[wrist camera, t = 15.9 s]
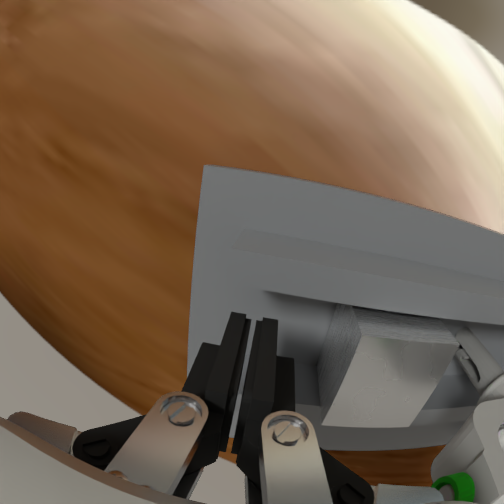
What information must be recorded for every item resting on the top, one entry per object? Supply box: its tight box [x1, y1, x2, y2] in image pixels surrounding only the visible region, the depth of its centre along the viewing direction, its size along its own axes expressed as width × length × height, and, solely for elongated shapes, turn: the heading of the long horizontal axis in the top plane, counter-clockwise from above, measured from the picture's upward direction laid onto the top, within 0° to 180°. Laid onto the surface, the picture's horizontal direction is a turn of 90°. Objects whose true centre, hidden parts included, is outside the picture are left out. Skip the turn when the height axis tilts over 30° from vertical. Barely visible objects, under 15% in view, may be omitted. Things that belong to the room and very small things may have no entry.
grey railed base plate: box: [187, 165, 504, 451], centre depth 12 cm, size 22×16×5 cm
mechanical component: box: [431, 328, 504, 504], centre depth 7 cm, size 3×10×10 cm, turn 83°
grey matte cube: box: [317, 303, 460, 428], centre depth 11 cm, size 4×4×4 cm
